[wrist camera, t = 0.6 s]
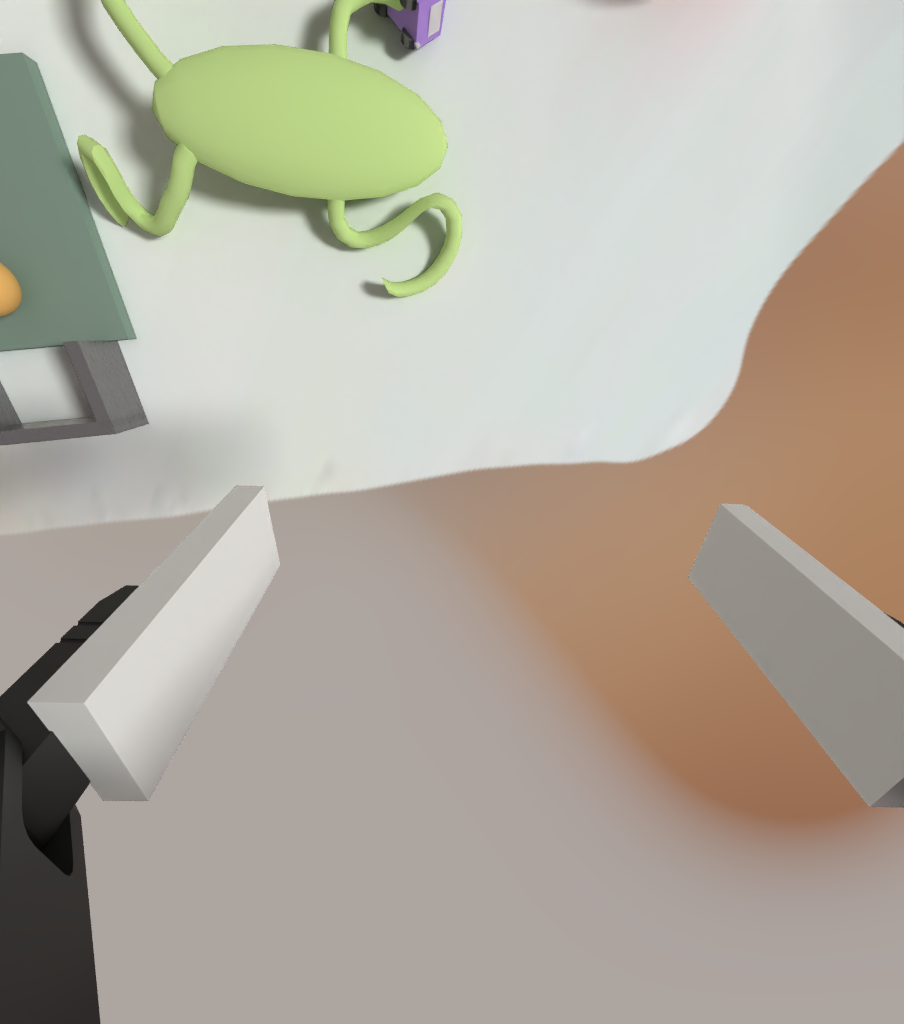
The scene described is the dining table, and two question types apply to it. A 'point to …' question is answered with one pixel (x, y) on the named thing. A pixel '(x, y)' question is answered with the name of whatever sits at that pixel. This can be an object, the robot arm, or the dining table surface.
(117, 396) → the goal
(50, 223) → the mat
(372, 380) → the dining table surface
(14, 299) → the ball
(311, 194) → the figurine
